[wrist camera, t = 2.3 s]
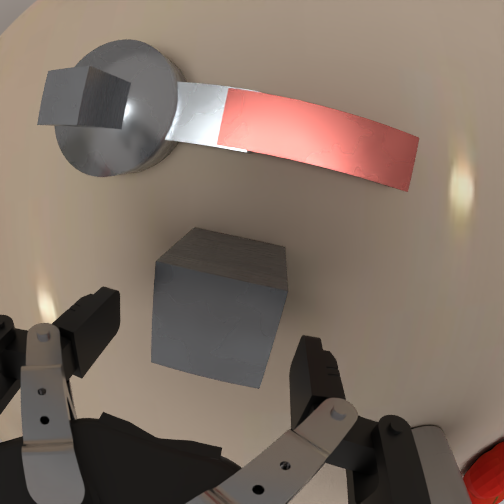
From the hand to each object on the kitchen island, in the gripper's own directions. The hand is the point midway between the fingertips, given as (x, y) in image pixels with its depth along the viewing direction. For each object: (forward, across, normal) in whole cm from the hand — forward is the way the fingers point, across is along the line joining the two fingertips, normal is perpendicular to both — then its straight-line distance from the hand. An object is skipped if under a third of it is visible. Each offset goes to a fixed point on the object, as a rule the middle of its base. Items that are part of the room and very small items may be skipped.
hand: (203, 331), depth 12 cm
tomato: (+6, -43, +22) cm, 48 cm away
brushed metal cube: (+7, 0, +1) cm, 7 cm away
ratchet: (+7, +2, -9) cm, 11 cm away
